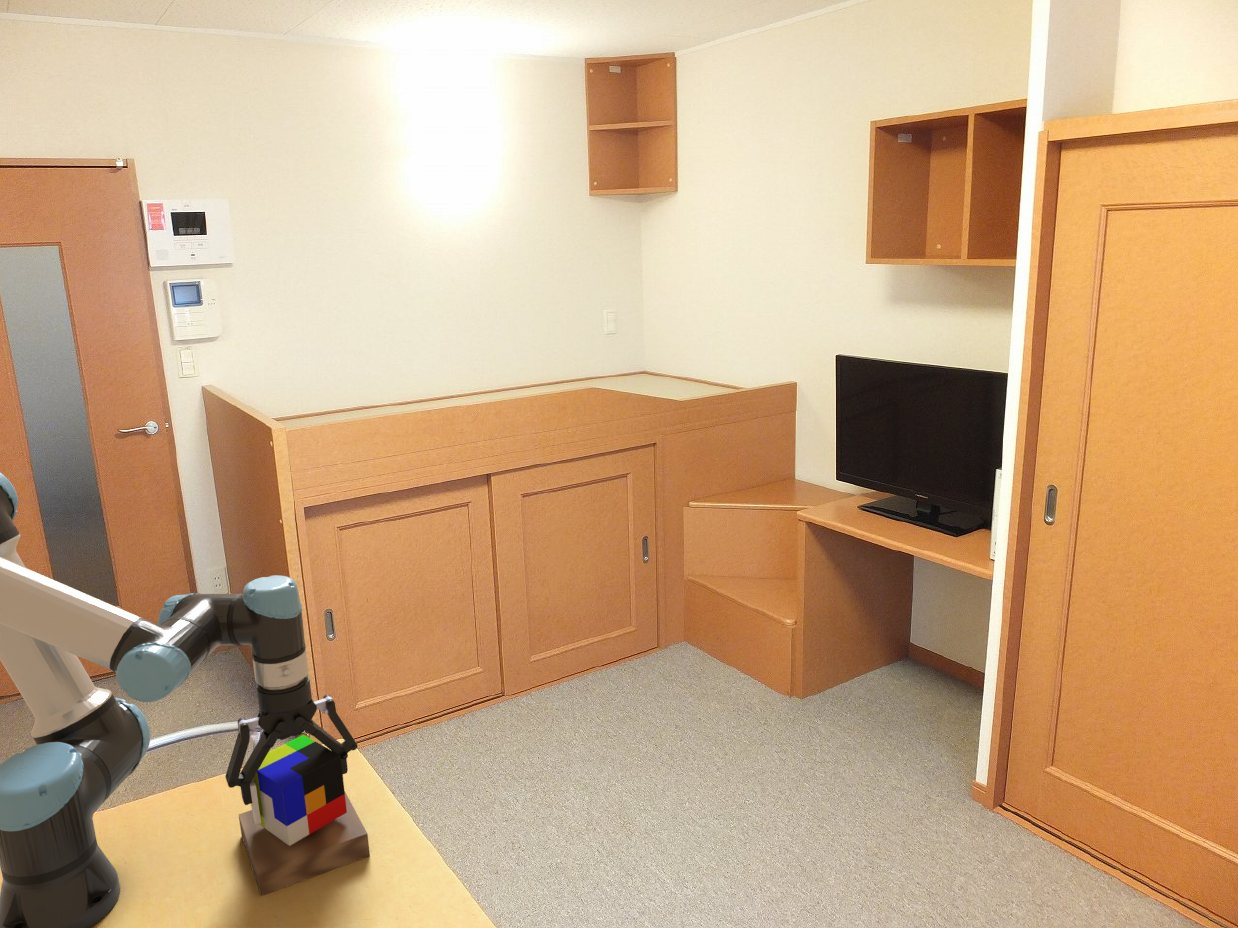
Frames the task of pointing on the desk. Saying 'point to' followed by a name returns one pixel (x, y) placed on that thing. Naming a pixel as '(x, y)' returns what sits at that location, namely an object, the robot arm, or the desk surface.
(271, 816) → the puzzle toy
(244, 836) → the walnut plinth
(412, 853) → the desk surface
